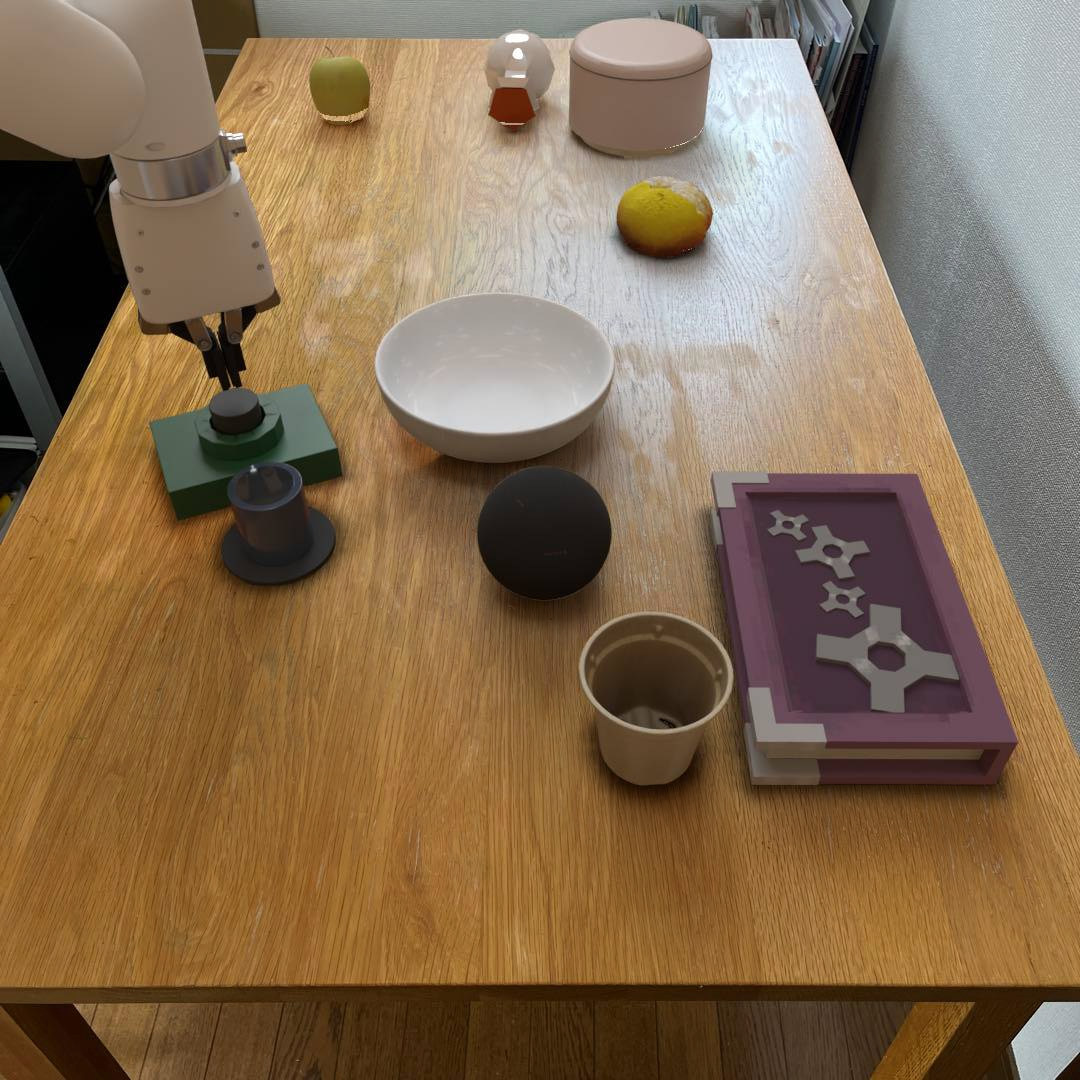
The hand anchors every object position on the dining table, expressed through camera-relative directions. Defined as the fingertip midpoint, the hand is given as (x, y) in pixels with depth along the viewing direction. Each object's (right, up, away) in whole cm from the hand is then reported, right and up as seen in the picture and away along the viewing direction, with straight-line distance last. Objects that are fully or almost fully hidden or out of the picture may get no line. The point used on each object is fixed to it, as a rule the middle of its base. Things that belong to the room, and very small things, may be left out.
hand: (229, 379), depth 85 cm
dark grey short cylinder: (0, -3, +3) cm, 4 cm away
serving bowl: (+21, -2, +11) cm, 24 cm away
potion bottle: (+22, +46, +59) cm, 78 cm away
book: (+47, -20, -8) cm, 52 cm away
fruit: (+39, +21, +34) cm, 56 cm away
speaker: (+26, -16, -4) cm, 31 cm away
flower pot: (+32, -27, -15) cm, 45 cm away
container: (+38, +41, +54) cm, 78 cm away
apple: (-1, +44, +57) cm, 72 cm away
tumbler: (+4, -13, -1) cm, 14 cm away
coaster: (+4, -13, -1) cm, 14 cm away
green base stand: (0, -6, +6) cm, 9 cm away
